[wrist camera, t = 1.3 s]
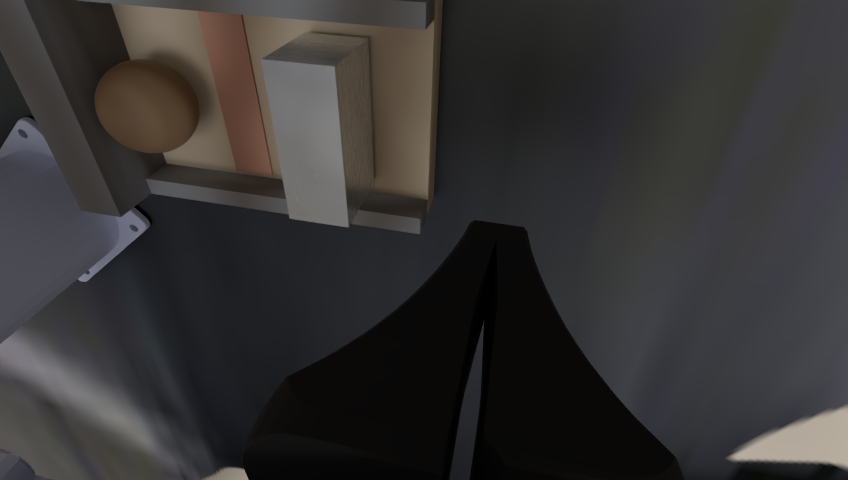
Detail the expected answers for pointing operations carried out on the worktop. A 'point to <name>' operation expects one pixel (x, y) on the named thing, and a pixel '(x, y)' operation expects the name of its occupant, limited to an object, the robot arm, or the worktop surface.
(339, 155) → the grey rectangular block
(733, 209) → the worktop surface
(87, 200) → the wooden shadow box
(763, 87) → the worktop surface
